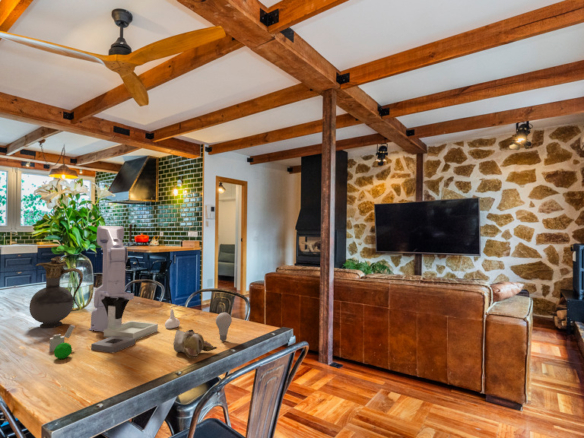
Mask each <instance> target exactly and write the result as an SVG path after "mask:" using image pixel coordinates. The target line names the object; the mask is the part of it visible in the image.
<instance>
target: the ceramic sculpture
mask: <svg viewBox="0 0 584 438" xmlns="http://www.w3.org/2000/svg"><path fill="white" fill-rule="evenodd" d="M174 335H175V336H174V340H173V344H172V345H173V349H174V352H176V353H184V354H185V355H186V356H187V357H188V358H189V359H195V358H198V357H199V356H198V355H199V354H200V353H201V352H202V351H203V352H212V351H214V350H217V349H218V347H217V346H214V345H212V344H211V343H210V342H208V341H207V340H205V339H204V337H203V335H201V334H200V333H198V332H195V331H194V330H193V329H189V330H187V331H183V330H179V329H176V331H175V334H174Z"/></svg>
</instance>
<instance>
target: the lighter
mask: <svg viewBox="0 0 584 438" xmlns="http://www.w3.org/2000/svg"><path fill="white" fill-rule="evenodd" d="M75 327H76V326H75V325H74V324H70V325H69V327H68V328H67V330H66V332H65V333H64V335H62V334H61V333H58V334H53V335H52V337H49V347H48V348H49V349H48V350H49V351H48V352H50V353H51V352H54V350H55V348H56V346H58V345H59V344H61V343H65V338H67V339H69V338H70V336H71V334H72V333H73V331H74V329H75ZM61 335H62V336H61Z"/></svg>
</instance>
